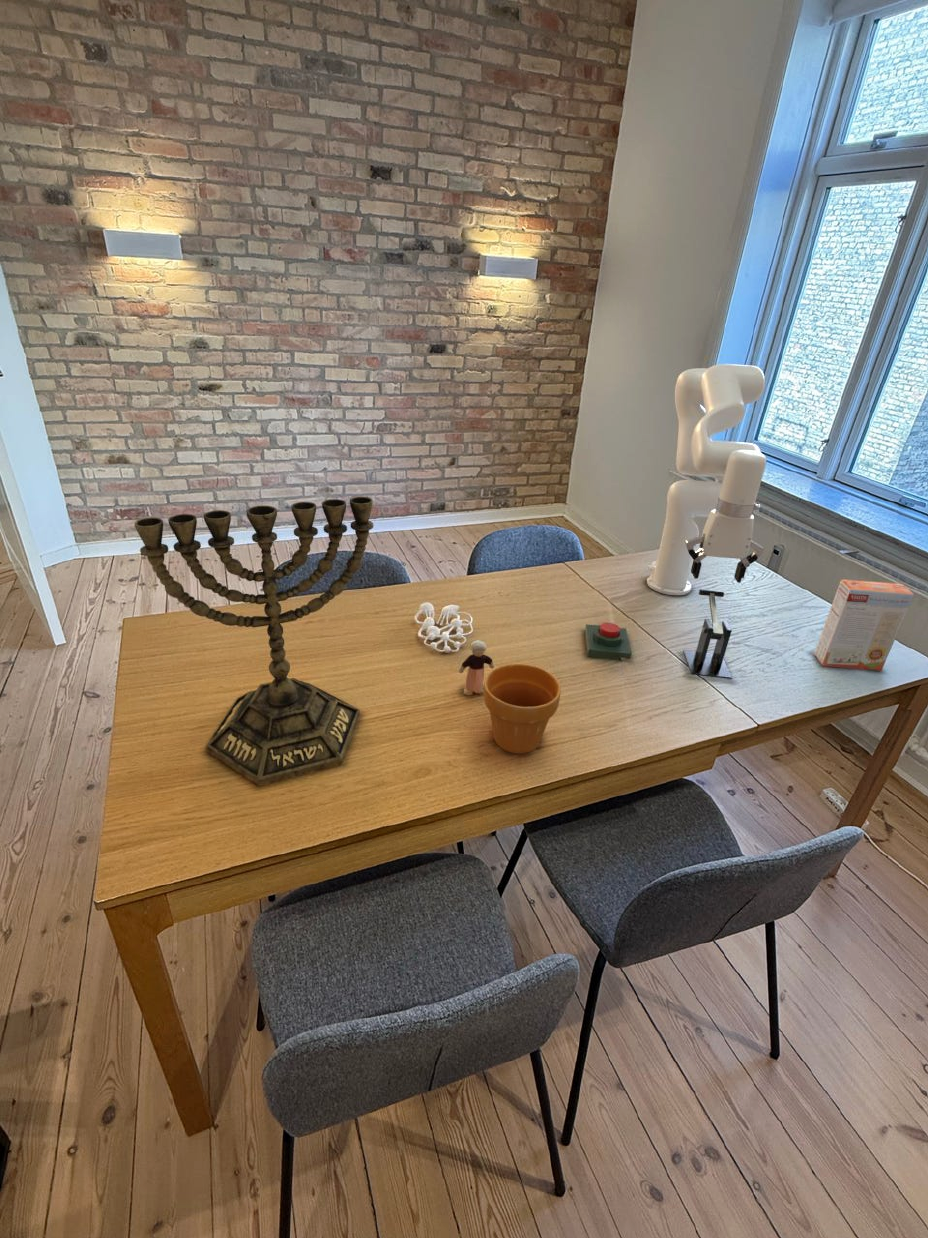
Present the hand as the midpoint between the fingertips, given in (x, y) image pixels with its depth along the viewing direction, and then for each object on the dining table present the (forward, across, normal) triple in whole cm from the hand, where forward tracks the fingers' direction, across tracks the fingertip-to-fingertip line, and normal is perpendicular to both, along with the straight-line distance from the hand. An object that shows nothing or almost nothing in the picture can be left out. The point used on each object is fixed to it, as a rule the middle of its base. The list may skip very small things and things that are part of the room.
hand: (716, 578), depth 149 cm
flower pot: (+20, +43, +42) cm, 64 cm away
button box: (+19, +23, +4) cm, 30 cm away
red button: (+15, +23, +4) cm, 28 cm away
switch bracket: (+19, 0, +9) cm, 21 cm away
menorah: (+20, +87, +48) cm, 102 cm away
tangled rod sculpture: (+19, +63, +5) cm, 66 cm away
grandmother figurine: (+19, +53, +28) cm, 63 cm away
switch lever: (+8, 0, +4) cm, 9 cm away
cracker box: (+19, -35, +1) cm, 40 cm away
